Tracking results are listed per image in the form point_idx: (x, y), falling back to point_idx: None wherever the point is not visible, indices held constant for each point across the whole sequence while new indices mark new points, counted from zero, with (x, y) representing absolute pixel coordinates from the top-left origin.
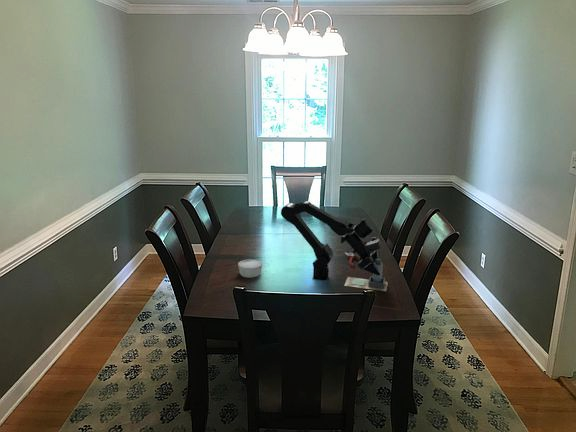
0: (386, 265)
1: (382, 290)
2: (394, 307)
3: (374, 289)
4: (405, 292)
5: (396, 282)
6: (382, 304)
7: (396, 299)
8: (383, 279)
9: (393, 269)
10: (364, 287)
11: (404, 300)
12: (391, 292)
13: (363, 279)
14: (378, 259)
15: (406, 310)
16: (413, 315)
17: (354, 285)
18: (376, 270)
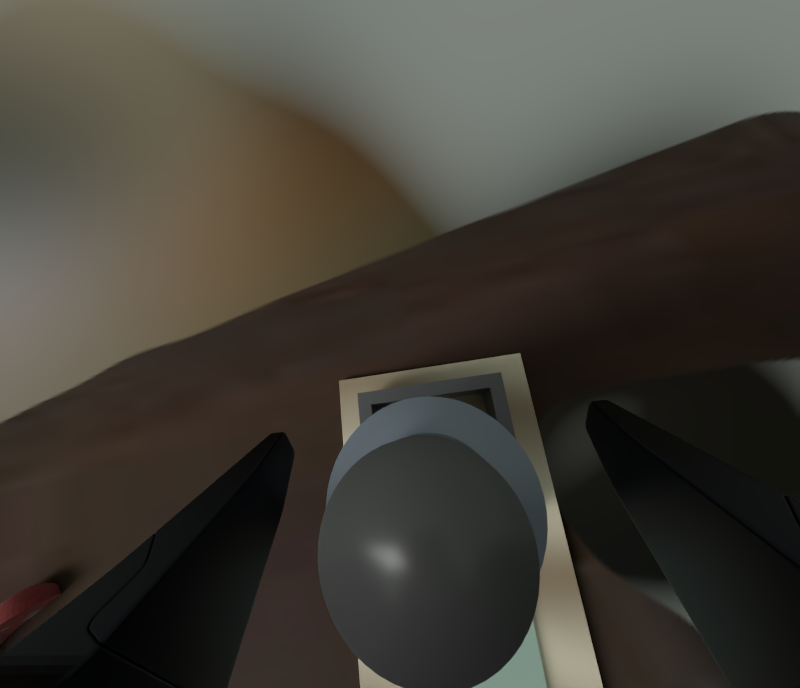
0: (22, 466)
1: (525, 381)
2: (757, 236)
3: (542, 451)
4: (451, 237)
5: (309, 327)
6: (775, 323)
7: (605, 258)
8: (374, 407)
9: (89, 399)
10: (551, 556)
11: (586, 211)
12: (502, 317)
13: None
14: (413, 558)
15: (741, 162)
16: (784, 113)
17: (564, 684)
18: (720, 472)
